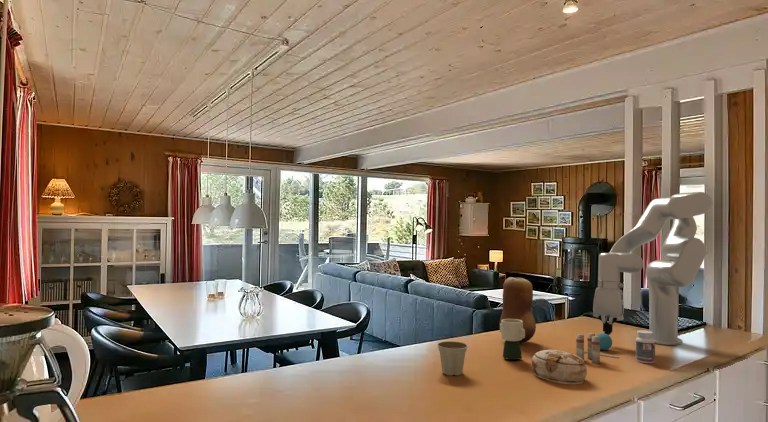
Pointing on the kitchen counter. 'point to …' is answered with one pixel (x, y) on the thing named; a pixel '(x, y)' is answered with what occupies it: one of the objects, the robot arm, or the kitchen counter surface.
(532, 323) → the butternut squash
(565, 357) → the trinket box
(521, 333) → the character mug
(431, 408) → the kitchen counter surface
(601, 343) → the ball
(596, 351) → the pin
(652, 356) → the pill bottle
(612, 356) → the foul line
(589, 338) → the pin front
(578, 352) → the pin
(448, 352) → the flower pot
